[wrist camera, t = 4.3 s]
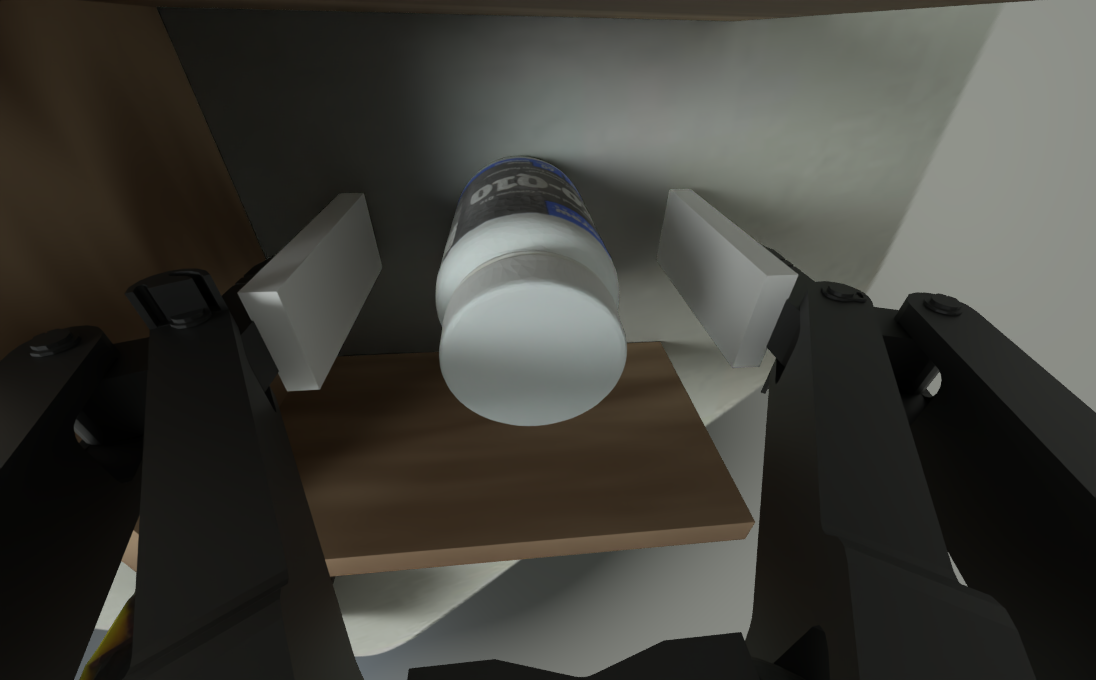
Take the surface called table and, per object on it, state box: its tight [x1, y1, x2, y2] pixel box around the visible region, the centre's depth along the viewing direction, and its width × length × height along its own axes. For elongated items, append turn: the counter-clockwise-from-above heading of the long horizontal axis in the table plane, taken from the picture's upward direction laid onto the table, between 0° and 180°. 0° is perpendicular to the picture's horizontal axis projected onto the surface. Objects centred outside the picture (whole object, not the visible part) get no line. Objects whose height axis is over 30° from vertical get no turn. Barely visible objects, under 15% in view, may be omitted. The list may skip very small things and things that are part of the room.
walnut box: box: [0, 0, 1033, 577], centre depth 11 cm, size 14×17×9 cm
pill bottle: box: [436, 156, 627, 426], centre depth 12 cm, size 5×5×8 cm
